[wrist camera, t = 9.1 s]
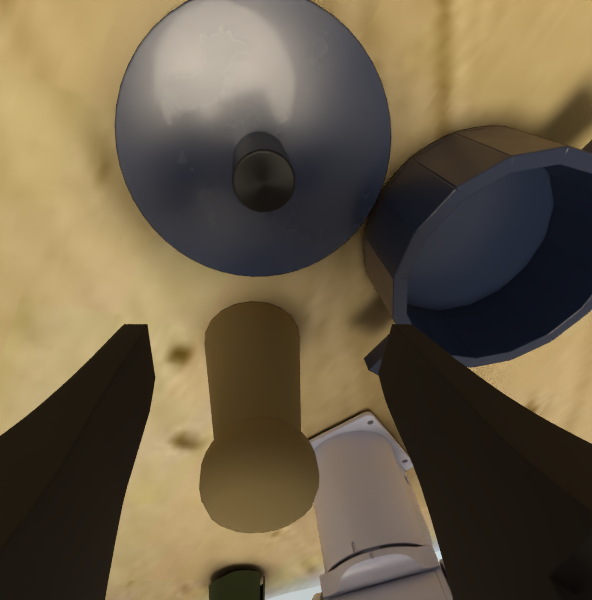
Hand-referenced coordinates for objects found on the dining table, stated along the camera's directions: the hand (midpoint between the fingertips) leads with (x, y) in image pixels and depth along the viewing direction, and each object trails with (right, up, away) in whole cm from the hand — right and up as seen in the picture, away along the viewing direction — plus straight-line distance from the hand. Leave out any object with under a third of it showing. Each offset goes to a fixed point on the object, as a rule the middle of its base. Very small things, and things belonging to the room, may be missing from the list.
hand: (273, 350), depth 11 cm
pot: (+10, +5, +10) cm, 16 cm away
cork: (-2, -1, +13) cm, 13 cm away
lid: (-1, +8, +6) cm, 10 cm away
